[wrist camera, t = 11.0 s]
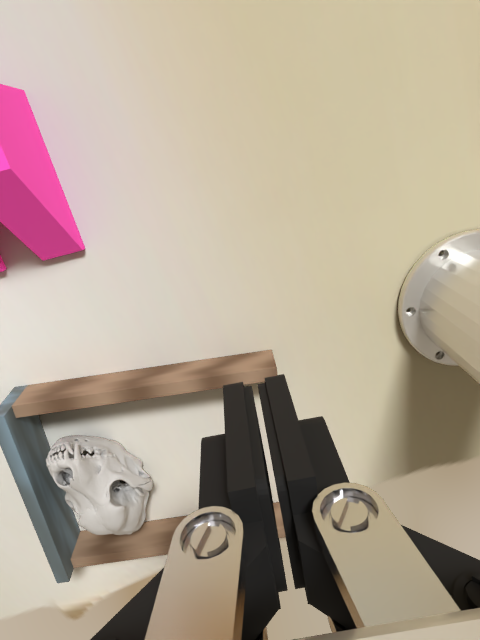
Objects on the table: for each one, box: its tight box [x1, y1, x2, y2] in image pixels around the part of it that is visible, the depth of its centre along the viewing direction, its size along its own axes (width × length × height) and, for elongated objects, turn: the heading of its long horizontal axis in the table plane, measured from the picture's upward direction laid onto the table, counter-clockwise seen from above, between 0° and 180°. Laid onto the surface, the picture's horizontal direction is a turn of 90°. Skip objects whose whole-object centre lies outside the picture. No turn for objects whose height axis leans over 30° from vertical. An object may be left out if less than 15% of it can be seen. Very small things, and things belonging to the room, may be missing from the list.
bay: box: [0, 350, 286, 583], centre depth 42 cm, size 24×19×5 cm
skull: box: [46, 435, 153, 535], centre depth 41 cm, size 8×9×12 cm
